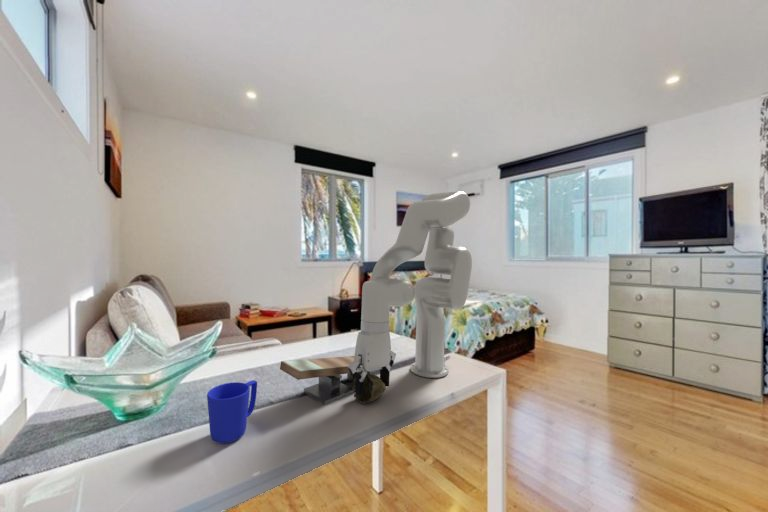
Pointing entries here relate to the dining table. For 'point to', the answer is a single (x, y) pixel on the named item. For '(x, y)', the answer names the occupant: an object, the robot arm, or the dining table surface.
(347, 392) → the pivot stand
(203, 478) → the dining table surface
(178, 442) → the dining table surface
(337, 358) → the beam
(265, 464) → the dining table surface
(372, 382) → the olive green rounded piece
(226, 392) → the mug
